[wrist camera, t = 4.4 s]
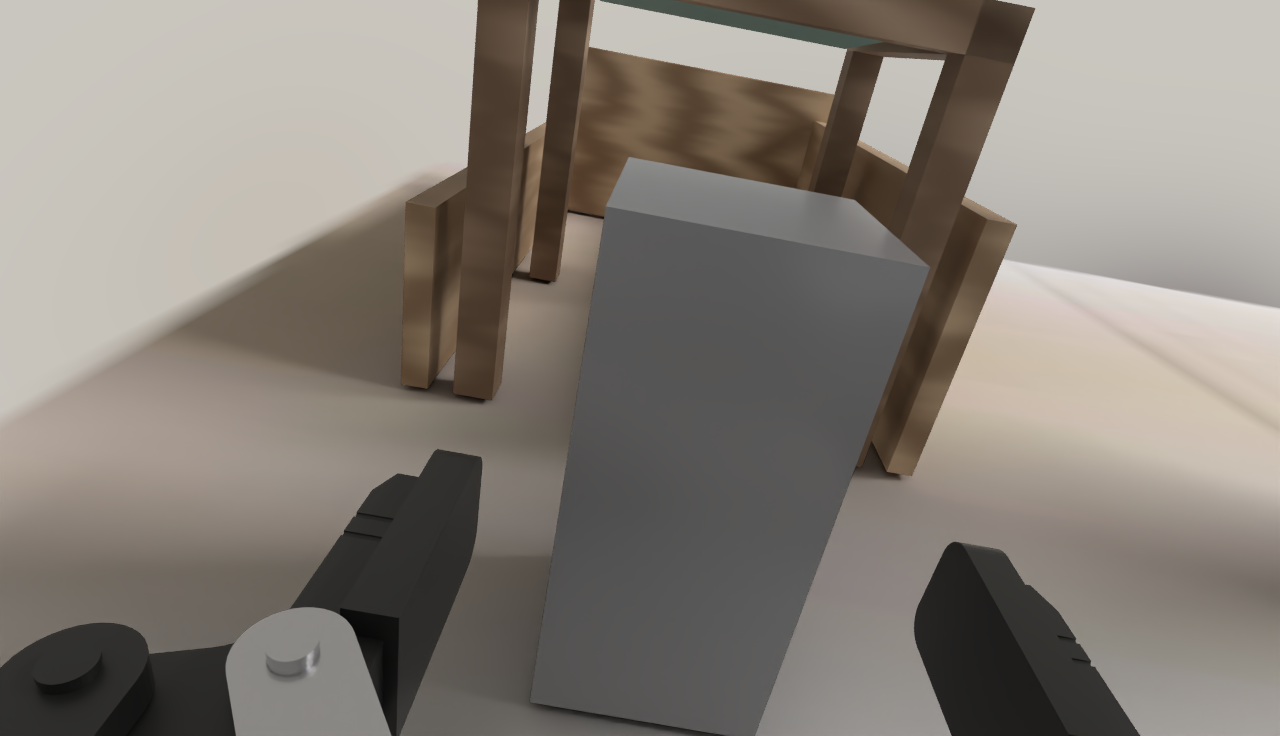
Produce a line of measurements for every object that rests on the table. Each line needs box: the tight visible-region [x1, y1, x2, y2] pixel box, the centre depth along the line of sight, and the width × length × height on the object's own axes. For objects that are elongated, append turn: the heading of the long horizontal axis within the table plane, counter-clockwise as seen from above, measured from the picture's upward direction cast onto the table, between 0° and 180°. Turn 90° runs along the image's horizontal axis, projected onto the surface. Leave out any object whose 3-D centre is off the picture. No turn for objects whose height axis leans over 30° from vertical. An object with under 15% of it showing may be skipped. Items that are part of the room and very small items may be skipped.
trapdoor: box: [600, 0, 883, 49], centre depth 27 cm, size 12×12×1 cm
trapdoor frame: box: [401, 0, 1035, 476], centre depth 38 cm, size 20×33×16 cm, turn 177°
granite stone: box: [530, 157, 930, 736], centre depth 15 cm, size 5×5×11 cm
